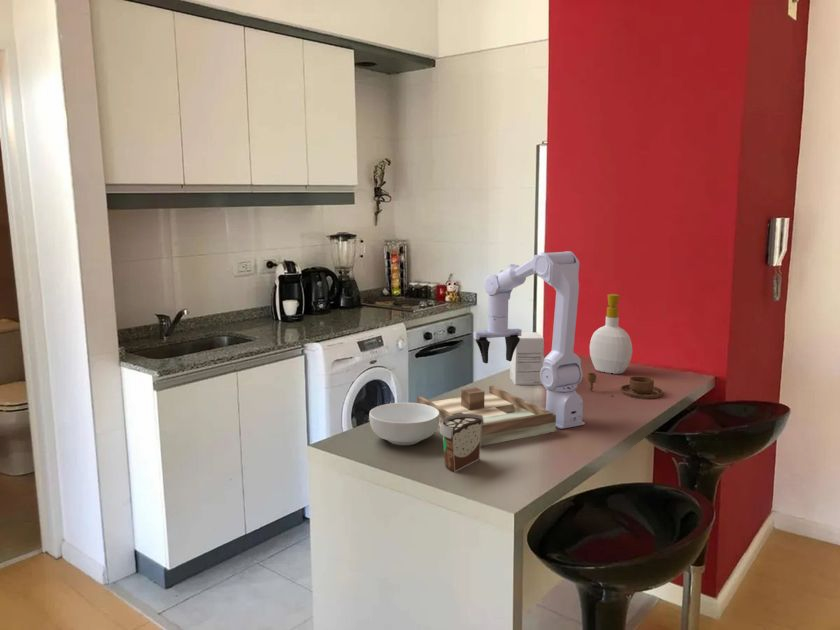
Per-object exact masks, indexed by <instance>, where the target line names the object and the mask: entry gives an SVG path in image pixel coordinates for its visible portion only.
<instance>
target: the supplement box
mask: <svg viewBox="0 0 840 630" xmlns="http://www.w3.org/2000/svg"><path fill="white" fill-rule="evenodd" d="M518 337H519V338H520V341H519V343H518V344H517V346H516V348H515V351H514V353H513V357H512V361H509V363H510V364H509V378H510V380H511V381H512V382H513V384H514V385H515V386H519V385H520V386H522V385H523V386H524V385H525V386H526V385H528V386H529V385H543V384H542V382H541V379H540V372H541V369H542V367H543V363H544V351H545V350H544V349H545V348H544V347H545V344H544V343H545V339H544V337H543V336H542V335H541V334H540V333H538V332H535V331H533V332H531V331H530V332H521V336H518Z"/></svg>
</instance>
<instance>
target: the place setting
mask: <svg viewBox="0 0 840 630" xmlns="http://www.w3.org/2000/svg"><path fill="white" fill-rule="evenodd" d="M587 381H588V382H587V383H589V392H590V393H591V392H594V390H593V389H594V386H593V385H594V384H595V383H596V381H597V373H595V372H594V373H593V372H589V373H587ZM654 385H655V380H654V379H653V378H652V377H647V376H640V375H639V376H638V375H637V376H631V377H630V378H629V383H628V384H624V385H621V386H620V389H619V390H620V393H621V394H622V393H623V394H622V395H623V396H626V395H627V396H626V397H629V396H630V398H633V397H635V399H640V398H642V400H651V399H652V398H653V399H659V398H660V397H661V396H662V394H663V390H662V389H661V388H659V387H657V386H654ZM628 388H630V389H628ZM625 389H627V390H631V391H633V393H631V392H628V391H626V390H625ZM652 390H654V391H652ZM655 391H657V392H658V393H659V394H658V393H657V392H656V394H649V393H651V392H655ZM635 393H636V394H635ZM610 397H611V398H615V395H612V394H611V395H610Z"/></svg>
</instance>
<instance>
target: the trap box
mask: <svg viewBox="0 0 840 630" xmlns="http://www.w3.org/2000/svg"><path fill="white" fill-rule="evenodd" d="M416 401H417V402H416V403H419V404H425V405H429V406H432V407H434V408H436V409H437V410H438V411H439V414H440V418H439V424H438V427H439V426H441V423H442V420H443V419H444V418H446V417H448V416H451V415H456V414H477V415H482V416H483V420H484V424H482V433H481V446H480V447H483V446H487V445H492V444H493V445H494V444H498V443H503V442H508V441H513V440H519V439H523V438H529V437H530V438H531V437H535V436H540V434H541V435H545V434H549V433H550V432H551V433H555V432H556V427H555V426H556V414H554V413H552V412H549V411H547V410H546V408H543V407H541V406H538V405H537V404H534V403H531V402H529V401H528V400H525V399H523V398H520V397H518V396H517V395H514V394H512V393H509V392H507V391H505V390H503V389H501V388H498V387H496V386H494V385H489V387H488V392H485V396H484V408H481V409H474V410H468V409H466V408H465V407H463V406H461V396H458V397H454V398H447V399H446V398H445V399H441V400H440V399H438V400H433V401H430V400H428V399H427V398H425V397H423V396H421V395H419V396H417V398H416Z"/></svg>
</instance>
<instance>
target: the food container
mask: <svg viewBox="0 0 840 630" xmlns="http://www.w3.org/2000/svg"><path fill="white" fill-rule="evenodd" d="M482 424H484V420H483V416H482V415H477V414H456V415H451V416H448V417H446V418H444V419H443V420H442V423H441V426H440V427H439V433H440V434H441V436H442V443H443V455H444V465H445V468H446V469H447V470H449V471H450V472H453V473H457V472H458V471H460V470H462V469H465V468H466V467H468V466H470V465H472V464H473V463H476V462H477V461H479V460H480V458H481V457H480V456H481V447H482V446H481V433H482Z"/></svg>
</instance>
